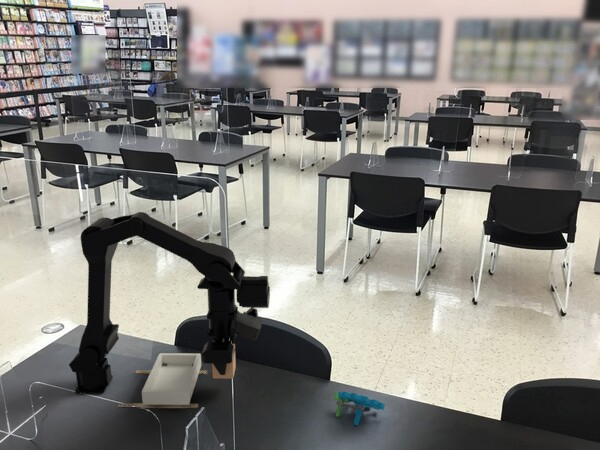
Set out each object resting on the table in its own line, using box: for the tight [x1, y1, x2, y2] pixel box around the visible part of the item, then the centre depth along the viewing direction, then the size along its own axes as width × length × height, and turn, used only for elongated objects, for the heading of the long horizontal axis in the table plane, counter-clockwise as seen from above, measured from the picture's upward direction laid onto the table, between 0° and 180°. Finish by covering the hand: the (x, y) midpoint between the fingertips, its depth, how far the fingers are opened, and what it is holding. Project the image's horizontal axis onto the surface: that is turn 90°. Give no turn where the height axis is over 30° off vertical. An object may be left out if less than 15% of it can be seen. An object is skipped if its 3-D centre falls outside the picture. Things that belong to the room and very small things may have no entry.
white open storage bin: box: [141, 352, 202, 405], centre depth 115 cm, size 10×15×4 cm, turn 0°
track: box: [118, 369, 208, 409], centre depth 116 cm, size 17×14×1 cm
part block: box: [211, 343, 236, 379], centre depth 114 cm, size 4×4×6 cm
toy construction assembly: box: [333, 391, 386, 426], centre depth 106 cm, size 11×6×10 cm
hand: (224, 368), depth 114 cm, fingers closed on part block, 4 cm apart
